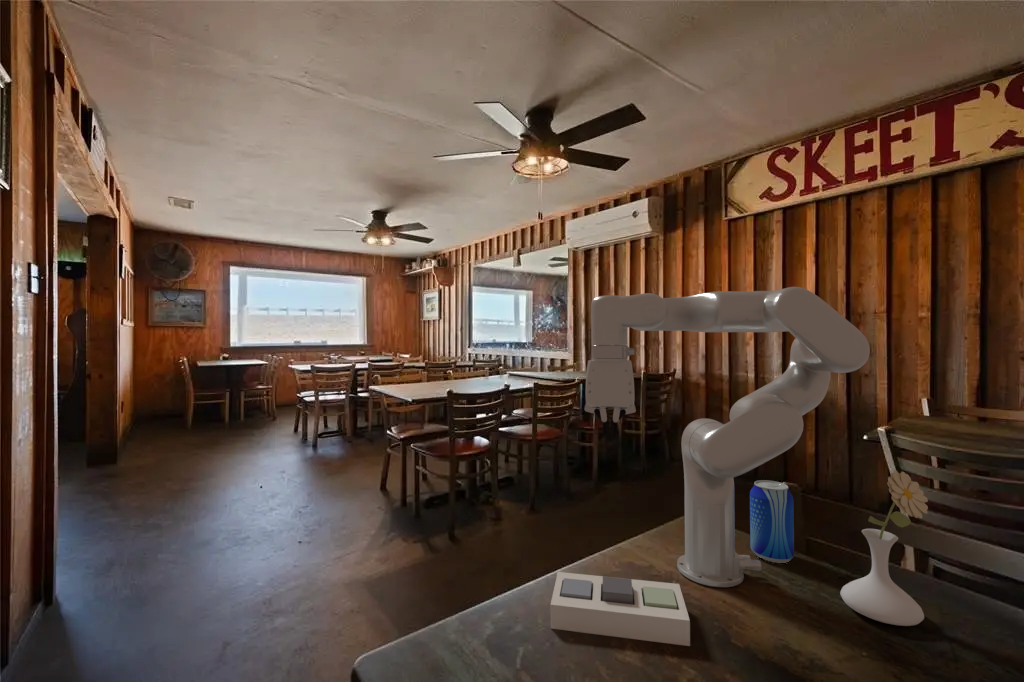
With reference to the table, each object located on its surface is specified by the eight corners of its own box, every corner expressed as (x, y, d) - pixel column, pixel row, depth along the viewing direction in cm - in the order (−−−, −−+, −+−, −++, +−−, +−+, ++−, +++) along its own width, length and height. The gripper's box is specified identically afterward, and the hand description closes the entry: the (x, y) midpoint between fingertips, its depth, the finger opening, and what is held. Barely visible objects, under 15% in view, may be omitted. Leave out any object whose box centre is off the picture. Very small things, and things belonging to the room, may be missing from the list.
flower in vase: (872, 633, 74) (870, 480, 74) (825, 594, 85) (824, 462, 85) (954, 634, 73) (952, 480, 73) (896, 595, 85) (895, 462, 85)
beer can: (800, 567, 95) (800, 491, 95) (757, 563, 97) (756, 489, 97) (785, 549, 103) (784, 480, 104) (745, 546, 105) (744, 478, 105)
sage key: (672, 606, 79) (672, 589, 79) (677, 623, 74) (676, 605, 74) (643, 603, 80) (643, 586, 80) (645, 620, 75) (645, 602, 75)
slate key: (591, 597, 82) (591, 580, 82) (590, 613, 77) (590, 596, 77) (564, 594, 83) (564, 578, 83) (561, 610, 78) (561, 592, 78)
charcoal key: (631, 596, 80) (631, 579, 80) (633, 612, 75) (632, 594, 75) (602, 593, 81) (602, 576, 81) (602, 609, 76) (602, 591, 77)
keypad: (679, 606, 81) (679, 583, 82) (690, 646, 71) (689, 620, 71) (557, 592, 86) (557, 571, 86) (550, 628, 75) (550, 604, 75)
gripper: (644, 353, 98) (645, 437, 98) (575, 353, 101) (575, 435, 101) (647, 354, 91) (648, 445, 91) (572, 354, 94) (573, 442, 94)
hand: (610, 439), depth 96 cm, fingers closed
